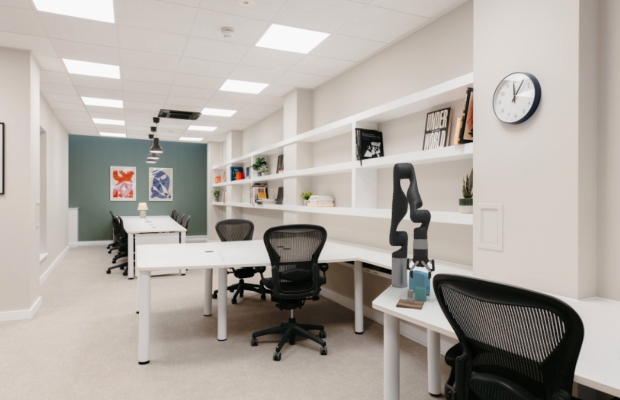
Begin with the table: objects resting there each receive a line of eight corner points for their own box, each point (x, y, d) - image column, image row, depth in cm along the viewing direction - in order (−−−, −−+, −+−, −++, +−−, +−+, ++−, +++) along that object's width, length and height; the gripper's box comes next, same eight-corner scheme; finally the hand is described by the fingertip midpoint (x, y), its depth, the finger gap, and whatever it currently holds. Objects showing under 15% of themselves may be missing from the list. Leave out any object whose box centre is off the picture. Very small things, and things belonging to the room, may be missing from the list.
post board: (399, 300, 197) (399, 286, 197) (423, 302, 193) (423, 288, 192) (396, 306, 186) (396, 291, 186) (421, 309, 181) (421, 294, 181)
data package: (430, 295, 207) (430, 273, 207) (424, 296, 205) (424, 274, 205) (414, 290, 218) (414, 269, 218) (408, 291, 216) (408, 270, 216)
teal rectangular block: (416, 298, 201) (416, 285, 201) (426, 299, 199) (426, 286, 199) (415, 300, 196) (415, 288, 196) (425, 301, 195) (425, 289, 194)
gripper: (435, 247, 198) (435, 278, 198) (407, 246, 204) (407, 276, 204) (434, 249, 191) (434, 281, 191) (405, 247, 197) (405, 278, 197)
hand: (420, 278), depth 198 cm, fingers open, 8 cm apart
